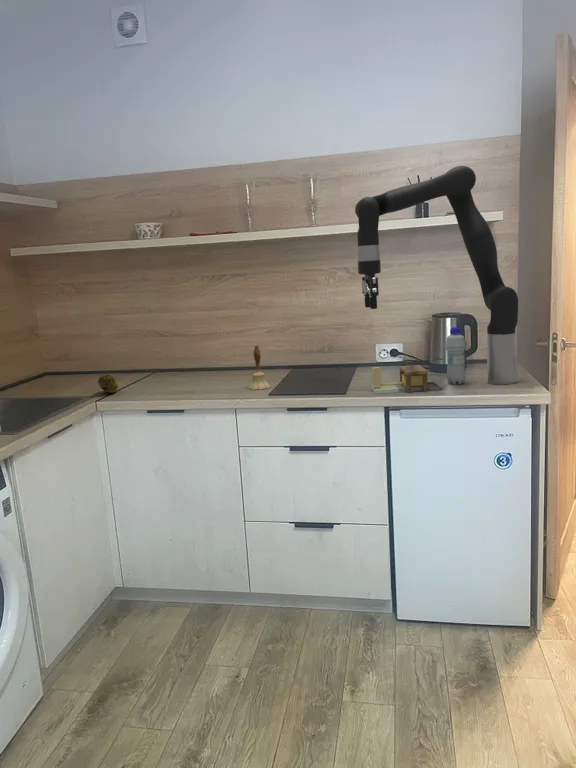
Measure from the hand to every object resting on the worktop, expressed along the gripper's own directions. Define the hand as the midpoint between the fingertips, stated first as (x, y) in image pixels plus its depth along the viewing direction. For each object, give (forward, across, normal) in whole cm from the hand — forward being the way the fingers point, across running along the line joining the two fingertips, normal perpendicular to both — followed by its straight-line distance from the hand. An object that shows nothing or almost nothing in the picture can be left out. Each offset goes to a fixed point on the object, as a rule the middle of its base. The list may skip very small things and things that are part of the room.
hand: (370, 308), depth 214 cm
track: (+29, -1, -8) cm, 30 cm away
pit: (+29, -2, -20) cm, 35 cm away
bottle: (+29, +2, -30) cm, 42 cm away
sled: (+27, -1, -8) cm, 29 cm away
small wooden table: (+29, -2, -14) cm, 32 cm away
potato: (+29, +35, +98) cm, 108 cm away
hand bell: (+29, +23, +39) cm, 54 cm away
